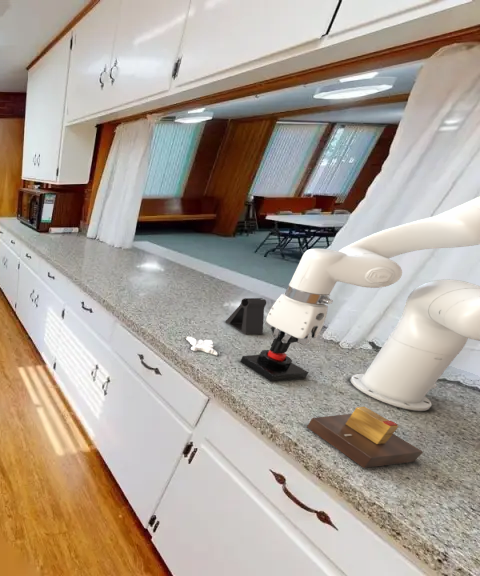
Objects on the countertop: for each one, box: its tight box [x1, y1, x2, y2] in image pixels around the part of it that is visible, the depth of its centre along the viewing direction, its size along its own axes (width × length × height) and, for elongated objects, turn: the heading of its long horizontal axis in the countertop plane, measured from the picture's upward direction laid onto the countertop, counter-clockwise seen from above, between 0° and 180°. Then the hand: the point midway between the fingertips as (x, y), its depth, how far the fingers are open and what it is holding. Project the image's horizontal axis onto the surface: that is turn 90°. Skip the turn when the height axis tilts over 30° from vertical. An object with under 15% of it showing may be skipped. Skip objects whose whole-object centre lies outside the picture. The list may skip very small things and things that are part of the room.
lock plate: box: [306, 413, 424, 469], centre depth 64 cm, size 12×10×3 cm
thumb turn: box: [346, 406, 400, 444], centre depth 62 cm, size 5×2×5 cm, turn 6°
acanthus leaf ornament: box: [186, 336, 219, 356], centre depth 97 cm, size 8×7×2 cm
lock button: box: [268, 349, 288, 361], centre depth 86 cm, size 4×4×2 cm
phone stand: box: [225, 297, 267, 335], centre depth 106 cm, size 9×6×12 cm, turn 178°
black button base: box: [240, 349, 309, 382], centre depth 86 cm, size 11×9×4 cm
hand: (276, 351), depth 86 cm, fingers closed
